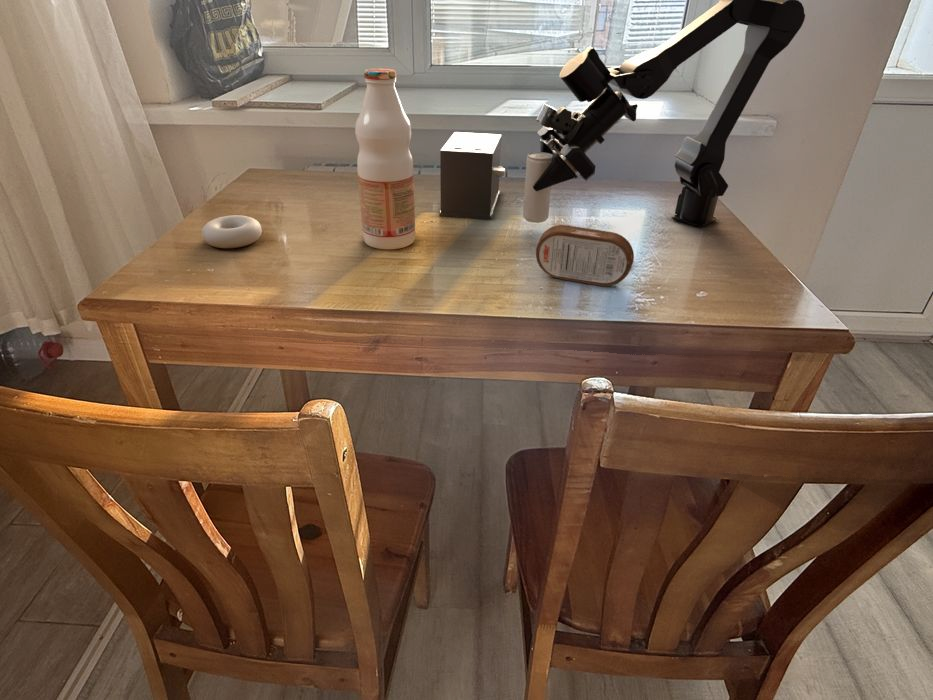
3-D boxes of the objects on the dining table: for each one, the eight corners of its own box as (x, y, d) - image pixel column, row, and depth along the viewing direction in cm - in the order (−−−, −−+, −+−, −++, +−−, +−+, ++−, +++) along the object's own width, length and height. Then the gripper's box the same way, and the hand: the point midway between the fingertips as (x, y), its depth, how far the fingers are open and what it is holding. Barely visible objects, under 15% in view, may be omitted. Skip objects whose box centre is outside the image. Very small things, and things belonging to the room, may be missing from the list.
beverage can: (549, 223, 109) (555, 158, 103) (523, 223, 109) (527, 158, 103) (546, 214, 113) (552, 152, 107) (522, 214, 113) (526, 151, 107)
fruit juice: (360, 250, 101) (345, 73, 86) (366, 230, 109) (353, 65, 93) (414, 250, 101) (408, 74, 86) (416, 231, 109) (411, 66, 94)
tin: (629, 283, 92) (638, 233, 87) (627, 292, 89) (636, 240, 85) (536, 269, 96) (540, 220, 91) (531, 276, 93) (536, 226, 89)
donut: (235, 256, 98) (275, 235, 106) (231, 237, 96) (271, 217, 104) (191, 245, 101) (233, 226, 109) (186, 227, 100) (229, 208, 107)
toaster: (508, 194, 128) (511, 134, 121) (500, 220, 115) (504, 153, 108) (453, 191, 130) (453, 130, 123) (439, 216, 116) (439, 149, 109)
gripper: (552, 79, 107) (491, 142, 111) (585, 96, 92) (513, 169, 96) (587, 122, 112) (528, 181, 117) (625, 146, 97) (555, 213, 101)
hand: (530, 185), depth 108 cm, fingers closed on beverage can, 5 cm apart
